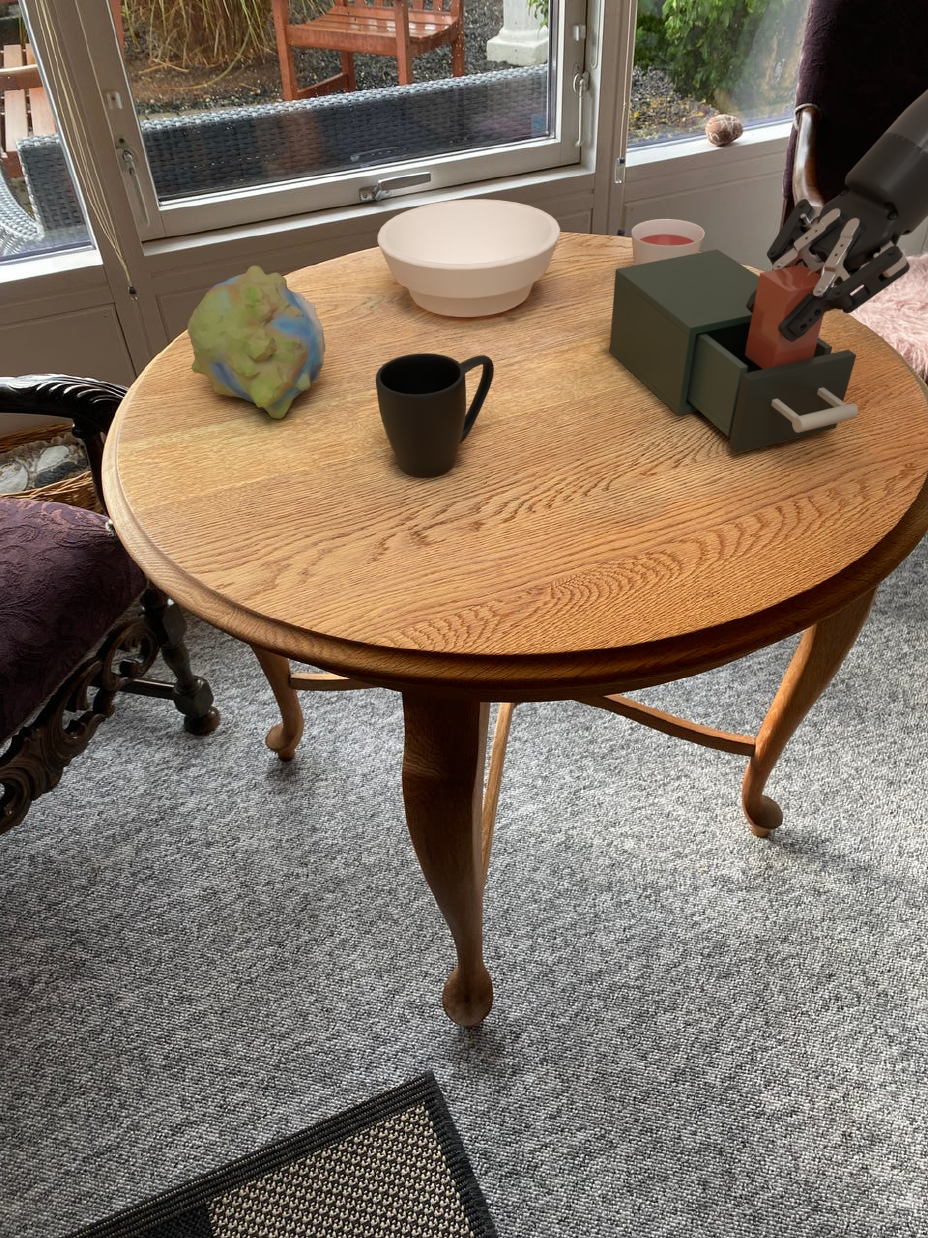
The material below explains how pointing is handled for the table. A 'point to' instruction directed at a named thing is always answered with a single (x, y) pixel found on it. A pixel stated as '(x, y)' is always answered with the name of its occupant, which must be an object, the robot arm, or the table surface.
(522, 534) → the table surface
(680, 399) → the cabinet
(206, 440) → the table surface
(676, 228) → the candle
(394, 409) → the mug
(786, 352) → the block
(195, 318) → the decorative rock
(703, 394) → the drawer
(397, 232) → the bowl
